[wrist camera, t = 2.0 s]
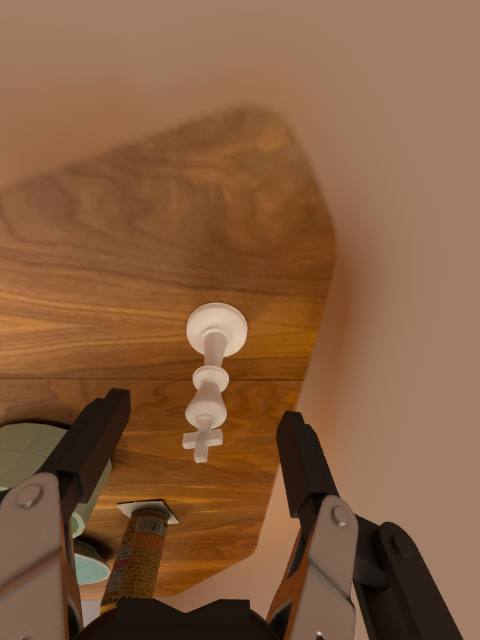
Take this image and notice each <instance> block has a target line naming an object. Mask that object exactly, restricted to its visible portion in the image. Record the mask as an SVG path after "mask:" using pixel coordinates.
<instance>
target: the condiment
mask: <svg viewBox="0 0 480 640" xmlns="http://www.w3.org/2000/svg"><path fill="white" fill-rule="evenodd" d="M116 506H117V508H119V509H120V511H122V512H123V513H124V514H125V515H126V516H128V517H129V518H130V520H129V522H128V525H127V528H126V531H125V533H124V535H123V538H122V542H121V545H120V548H119V550H118V552H117V556H116V560H115V562H114V564H113V569H112V572H111V574H110V578H109V581H108V583H107V585H106V590H105V593H104V596H103V598H102V602H101V605H100V615H102V614H104V613H105V612H107V611H109V610H111V609H113V608H115V607H118V604H119V600H120V598H152V597H153V592H154V588H155V583H156V578H157V574H158V569H159V564H160V559H161V555H162V550H163V545H164V541H165V536H166V531H167V527H168V524H177V523H179V522H178V521H177V519H176V518H175V516H174V515H173V514H172V513H171V512H170V511H169V509H168V508H167V506H165V505H164V503H163V502H162V501H159V502H157V501H149V502H136V501H135V502H134V503H129V504H127V503H125V504H120V505H116Z"/></svg>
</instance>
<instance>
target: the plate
mask: <svg viewBox="0 0 480 640" xmlns="http://www.w3.org/2000/svg"><path fill="white" fill-rule="evenodd" d="M73 546H74V556H75V567H76V575H77V581H78V585H82V584H91V583H96V582H100V581H102V580H104V579H106V578H107V577H108V576H109V575H110V567H109V566H108V564H107V563H106V562H105V561H104V560H103V558H102V557H101V556H100V555H99V554H98V553H97V551H96V549H95V548H94V547H92V546H91V545H89V544H87V543H85V542H82V541H79V540H76V539H73Z"/></svg>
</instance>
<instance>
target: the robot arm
mask: <svg viewBox="0 0 480 640" xmlns="http://www.w3.org/2000/svg"><path fill="white" fill-rule="evenodd" d="M130 412H131V404H130V390H126V389H118V388H112V389H111V390H110V391H109V392H108V394H107V395H106V397H105V398H104V399H101V398H96V399H95V400H94V401H92V402H91V403H90V404H88V405H87V406H86V407H85V408H84V409H83V411H82V412H81V413H80V415H79V416H78V417H77V420H75V421H74V423H73V424H72V425H71V427H70V429H68V431H67V432H66V433H65V435H64V436H63V437H62V439H61V440H60V441H59V443H58V444H57V445H56V447H55V448H54V449H53V451H52V452H51V453H50V455H49V456H48V457H47V459H46V460H45V462H44V463H43V464H42V465H41V467H40V468H39V469H38V470H37V471H36V472H35V473H34V474H33V475H32V476H29V477H27V478H25V479H24V480H22V481H21V482H19V483H18V484H17V485H15V486H14V487H12V488H9V489H7V490H3V491H0V640H354V632H355V622H356V612H355V607H354V604H353V603H352V601H351V597H350V592H351V585H352V581H353V584H354V588H355V591H356V595H357V598H358V602H359V606H360V609H361V613H362V616H363V620H364V623H365V627H366V630H367V634H368V637H369V640H463V638H462V636H461V634H460V632H459V630H458V628H457V626H456V624H455V622H454V620H453V618H452V616H451V614H450V612H449V610H448V608H447V606H446V604H445V602H444V600H443V598H442V596H441V594H440V592H439V590H438V588H437V586H436V584H435V582H434V580H433V578H432V576H431V574H430V572H429V570H428V568H427V566H426V564H425V562H424V560H423V558H422V556H421V554H420V552H419V550H418V548H417V547H416V545H415V543H414V542H413V540H412V539H411V538H410V536H409V535H408V534H407V533H406V532H405V531H404V530H403V529H402V528H401V527H399V526H398V525H396V524H394V523H391V522H384V523H383V524H381V525H380V526H379V525H376V524H374V523H372V522H370V521H368V520H366V519H364V518H362V517H360V516H358V515H356V514H355V513H354V512H353V511H352V509H351V508H350V506H349V505H348V504H347V503H346V502H345V501H344V500H343V499H341V497H340V496H339V494H338V491H337V489H336V486H335V483H334V480H333V478H332V475H331V472H330V469H329V467H328V464H327V461H326V458H325V456H324V453H323V450H322V448H321V445H320V442H319V439H318V437H317V434H316V433H315V431H314V430H313V429H312V427H311V426H310V425H309V424H305V423H304V420H303V417H302V414H301V413H300V412H293V411H285V413H284V415H283V417H282V419H281V421H280V423H279V426H278V428H277V432H276V440H277V446H278V451H279V456H280V462H281V467H282V473H283V478H284V484H285V489H286V495H287V500H288V506H289V511H290V516H291V518H299V520H300V524H301V528H300V530H299V532H298V535H297V538H296V541H295V544H294V547H293V550H292V553H291V556H290V559H289V562H288V565H287V568H286V571H285V574H284V577H283V579H282V582H281V584H280V586H279V588H278V590H277V592H276V594H275V596H274V598H273V601H272V603H271V606H270V609H269V612H268V615H267V618H266V621H265V620H264V619H263V618H262V617H261V616H260V615H259V614H257V613H256V612H255V611H253V610H251V609H250V600H236V599H235V600H234V599H219V600H217V601H214V602H212V603H210V604H208V605H205V606H202V607H200V608H198V609H195V610H193V611H191V612H188V613H183V612H181V611H179V610H177V609H175V608H173V607H171V606H168V605H166V604H164V603H162V602H160V601H158V600H156V599H154V598H120V600H119V604H118V607H115V608H113V609H111V610H109V611H107V612H105V613H104V614H102V615H100V616H99V617H98V618H96V619H95V620H93V621H92V622H91V623H90V624H89V625H87V626H86V627H85V628H84V627H83V617H82V608H81V599H80V592H79V586H78V581H77V575H76V567H75V556H74V546H73V536H72V526H71V516H72V514H73V512H74V510H75V508H76V506H77V504H78V503H82V504H88V502H89V500H90V498H91V496H92V494H93V492H94V490H95V488H96V486H97V484H98V482H99V480H100V477H101V475H102V473H103V471H104V469H105V467H106V465H107V463H108V461H109V459H110V457H111V455H112V453H113V451H114V449H115V447H116V445H117V443H118V441H119V439H120V437H121V435H122V433H123V431H124V429H125V427H126V425H127V423H128V420H129V417H130Z"/></svg>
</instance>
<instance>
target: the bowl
mask: <svg viewBox="0 0 480 640" xmlns="http://www.w3.org/2000/svg"><path fill="white" fill-rule="evenodd" d="M67 431H68V430H66V429H62V428H58V427H54V426H50V425H45V424H34V423H20V424H11V425H5V426H3V427H0V491H3V490H7V489H9V488H12V487H14V486H15V485H17V484H18V483H19V482H21V481H22V480H24V479H25V478H27V477H29V476H32V475H33V474H34V473H35V472H36V471H37V470H38V469H39V468H40V467H41V465H42V464H43V463H44V462H45V460H46V459H47V457H48V456H49V455H50V453H51V452H52V451H53V449H54V448H55V447H56V445H57V444H58V443H59V441H60V440H61V439H62V437H63V436H64V435H65V433H66V432H67ZM111 470H112V464H111V460H110V459H109V461H108V463H107V465H106V467H105V469H104V471H103V473H102V475H101V477H100V480H99V482H98V484H97V486H96V488H95V490H94V492H93V494H92V496H91V498H90V500H89V502H88V504H82V503H78V504H77V506H76V508H75V510H74V512H73V514H72V516H71V526H72V536H73V539H74V538H75V537H77V536H79V535H81V534H82V533H83V530H84V528H85V526H86V524H87V522H88V520H89V517H90V515H91V513H92V511H93V509H94V507H95V504H96V502H97V500H98V498H99V496H100V494H101V491H102V489H103V487H104V485H105V483H106V481H107V478H108V476H109V474H110V472H111Z"/></svg>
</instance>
